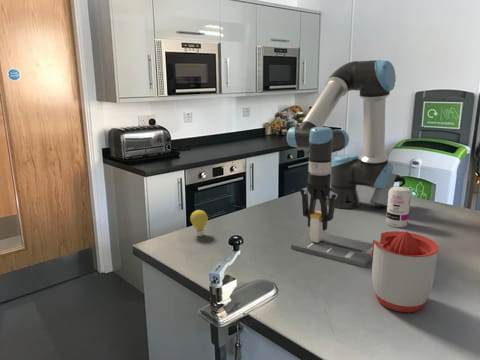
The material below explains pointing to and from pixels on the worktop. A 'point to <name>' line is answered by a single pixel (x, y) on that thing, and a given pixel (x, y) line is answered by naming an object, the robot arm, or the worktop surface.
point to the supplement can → (398, 206)
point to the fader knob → (315, 226)
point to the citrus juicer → (403, 270)
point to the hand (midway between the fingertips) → (317, 236)
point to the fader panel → (336, 249)
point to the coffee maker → (385, 191)
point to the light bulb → (199, 221)
